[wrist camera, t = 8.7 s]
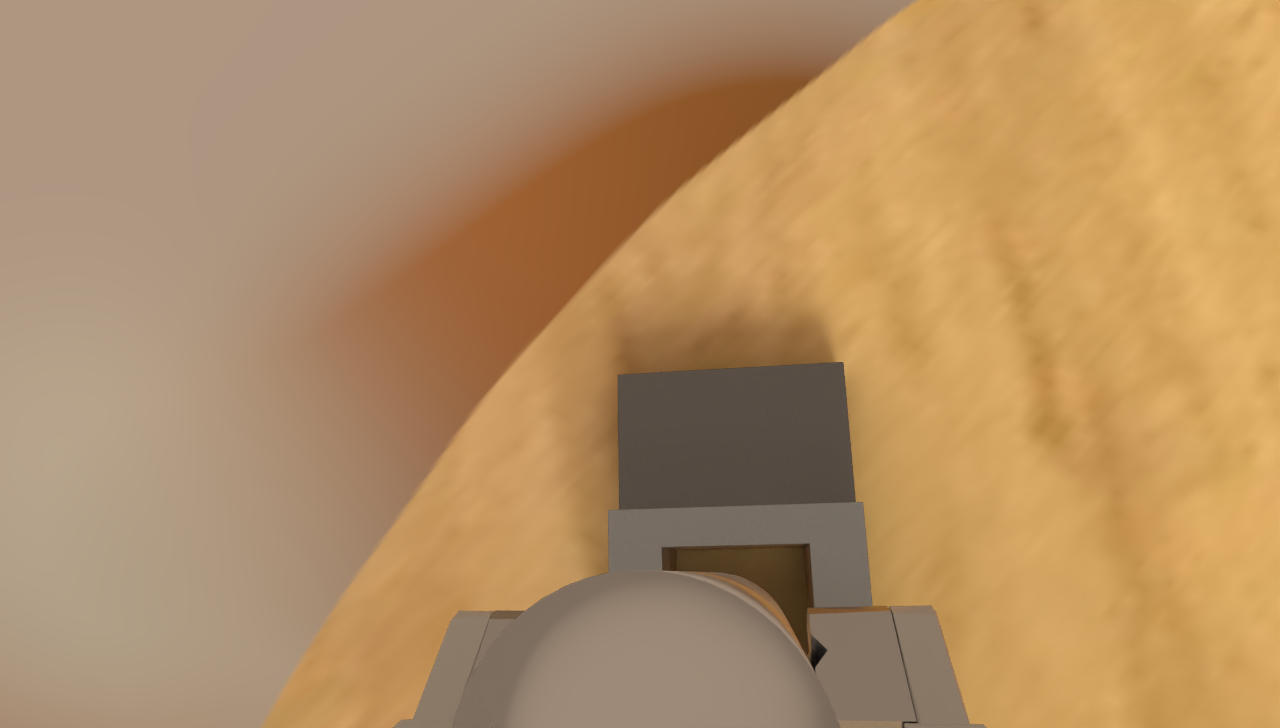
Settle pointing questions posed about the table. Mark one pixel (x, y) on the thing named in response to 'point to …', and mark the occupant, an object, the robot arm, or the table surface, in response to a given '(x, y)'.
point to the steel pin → (648, 659)
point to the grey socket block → (741, 472)
